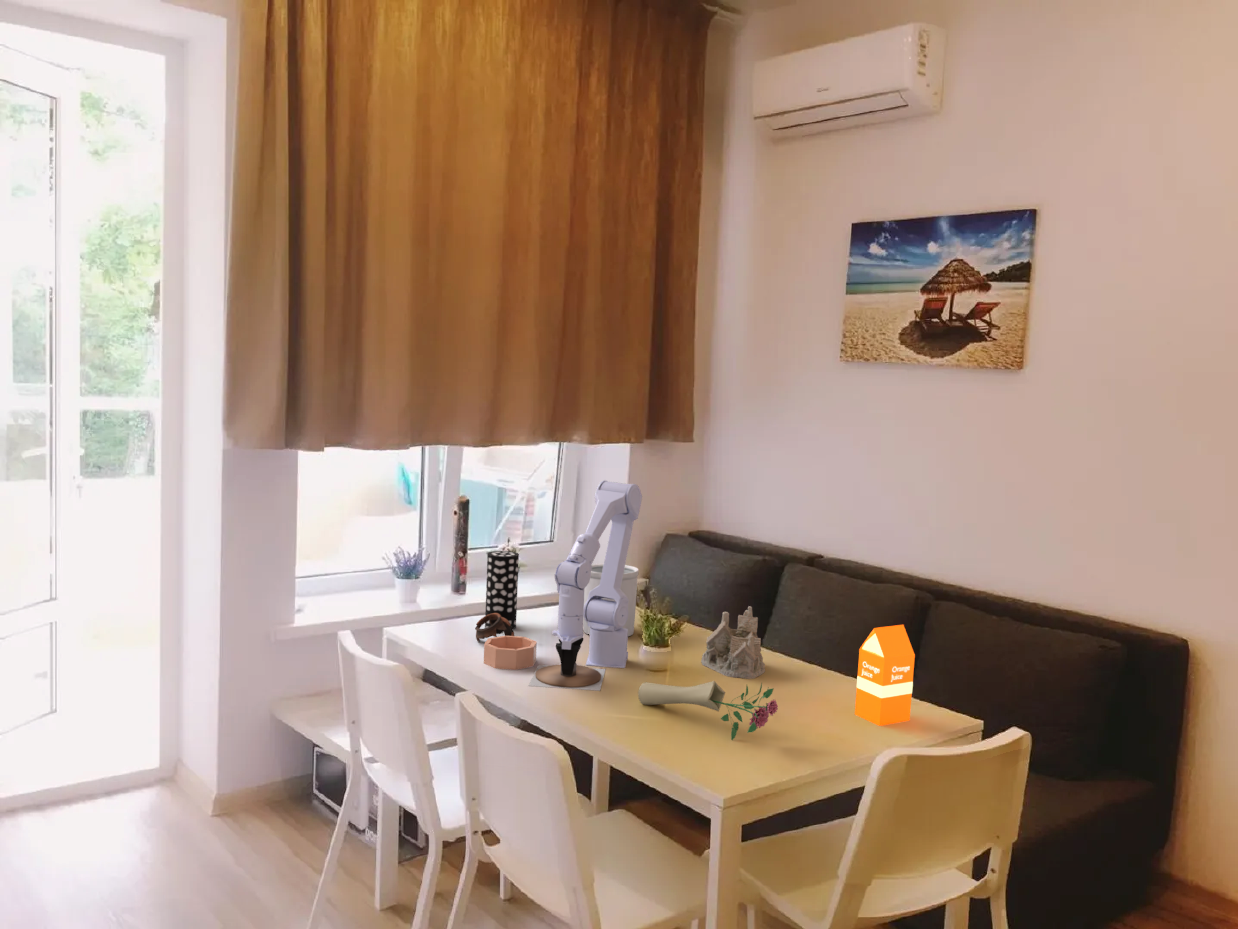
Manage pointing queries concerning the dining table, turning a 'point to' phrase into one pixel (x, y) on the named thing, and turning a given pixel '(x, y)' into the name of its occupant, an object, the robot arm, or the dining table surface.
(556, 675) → the walnut lid
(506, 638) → the terracotta bowl
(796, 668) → the dining table surface
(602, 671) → the grey mat
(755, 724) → the flower vase
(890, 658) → the orange juice
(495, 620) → the brown openwork ring
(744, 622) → the ceramic cottage
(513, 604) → the white-spotted black cylinder
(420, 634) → the dining table surface
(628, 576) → the utensil holder
